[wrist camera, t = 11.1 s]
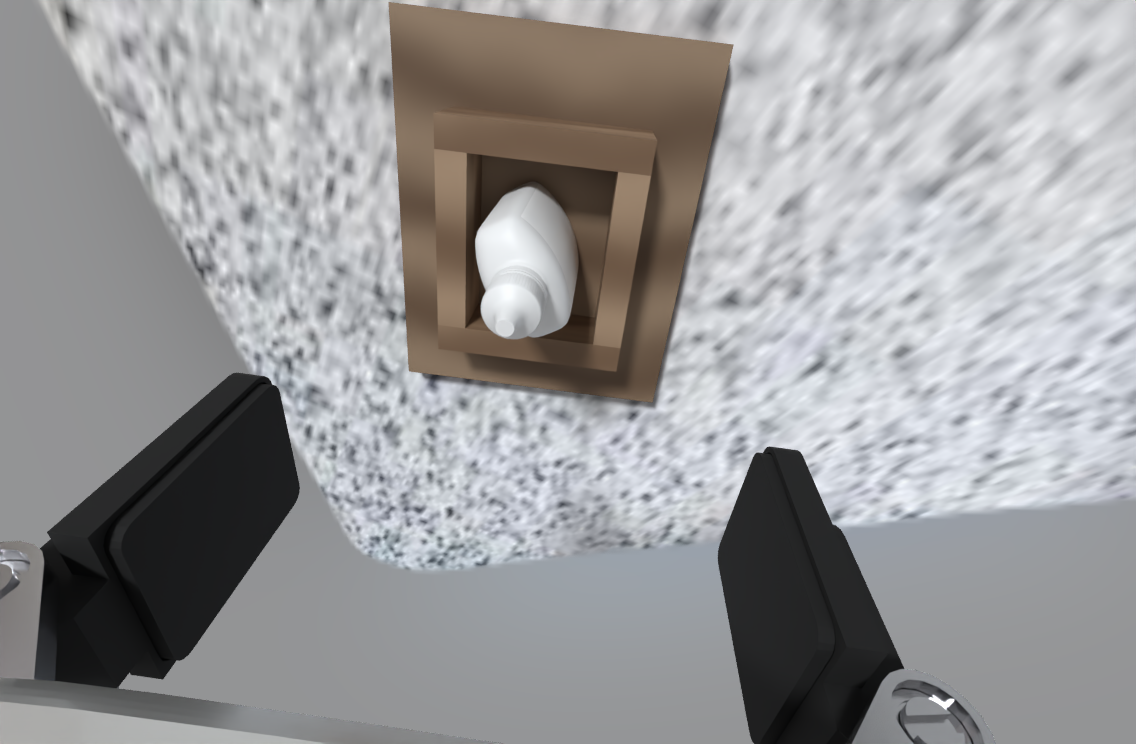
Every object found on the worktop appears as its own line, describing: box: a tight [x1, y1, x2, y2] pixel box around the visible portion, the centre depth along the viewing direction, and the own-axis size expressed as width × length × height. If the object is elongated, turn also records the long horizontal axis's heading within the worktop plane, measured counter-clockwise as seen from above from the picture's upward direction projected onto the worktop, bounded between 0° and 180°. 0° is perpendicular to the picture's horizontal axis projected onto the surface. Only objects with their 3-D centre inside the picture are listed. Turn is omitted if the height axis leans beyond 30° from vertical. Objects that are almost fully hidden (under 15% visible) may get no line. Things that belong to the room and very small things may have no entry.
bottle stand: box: [389, 2, 733, 402], centre depth 29 cm, size 20×16×5 cm
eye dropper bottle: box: [475, 182, 579, 339], centre depth 25 cm, size 4×6×12 cm
